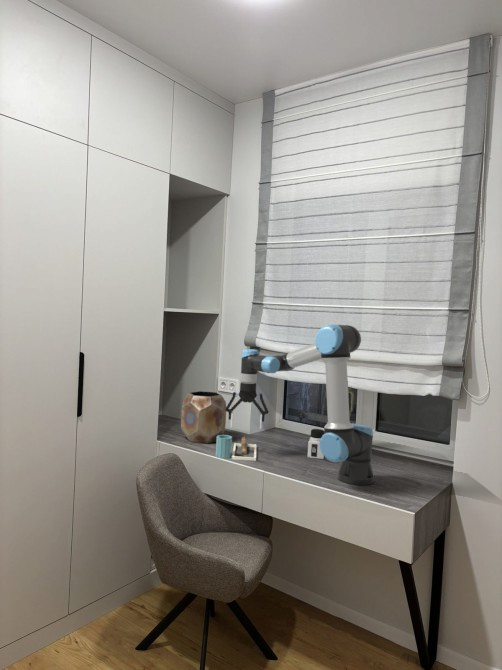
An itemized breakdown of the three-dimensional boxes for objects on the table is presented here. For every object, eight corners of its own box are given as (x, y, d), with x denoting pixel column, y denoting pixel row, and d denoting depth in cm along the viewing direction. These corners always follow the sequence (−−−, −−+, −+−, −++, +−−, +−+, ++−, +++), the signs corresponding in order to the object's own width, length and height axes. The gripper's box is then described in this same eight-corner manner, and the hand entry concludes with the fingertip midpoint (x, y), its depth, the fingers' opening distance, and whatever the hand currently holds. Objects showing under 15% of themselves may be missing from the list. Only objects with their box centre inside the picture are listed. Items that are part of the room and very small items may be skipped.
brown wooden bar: (247, 450, 240) (246, 430, 258) (241, 450, 240) (241, 430, 258) (246, 461, 242) (246, 440, 260) (241, 461, 242) (241, 440, 260)
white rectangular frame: (255, 462, 232) (256, 458, 232) (231, 461, 233) (231, 456, 232) (256, 448, 256) (256, 444, 256) (234, 447, 257) (234, 443, 256)
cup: (230, 461, 233) (231, 439, 233) (214, 460, 233) (216, 438, 233) (231, 456, 240) (232, 435, 240) (216, 455, 240) (217, 434, 240)
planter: (174, 434, 275) (176, 390, 274) (217, 433, 285) (220, 390, 284) (186, 445, 255) (188, 398, 254) (232, 443, 264) (234, 397, 263)
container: (323, 459, 244) (325, 432, 244) (307, 457, 246) (309, 430, 245) (324, 455, 252) (326, 428, 251) (308, 453, 254) (310, 427, 253)
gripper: (274, 382, 244) (272, 427, 245) (222, 379, 245) (219, 424, 246) (275, 385, 237) (272, 430, 238) (221, 381, 237) (218, 427, 238)
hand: (245, 427), depth 242 cm, fingers open, 13 cm apart
